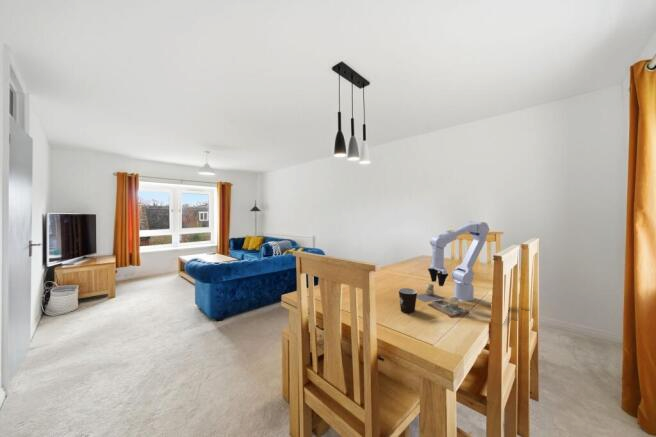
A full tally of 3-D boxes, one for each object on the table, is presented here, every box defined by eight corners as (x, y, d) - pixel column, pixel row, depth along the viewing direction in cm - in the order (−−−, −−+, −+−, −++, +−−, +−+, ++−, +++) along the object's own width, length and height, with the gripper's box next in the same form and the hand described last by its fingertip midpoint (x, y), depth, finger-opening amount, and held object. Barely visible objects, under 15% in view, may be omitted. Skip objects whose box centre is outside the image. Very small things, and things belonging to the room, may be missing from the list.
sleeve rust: (429, 293, 142) (430, 283, 142) (435, 295, 138) (435, 285, 138) (424, 294, 141) (424, 284, 140) (429, 296, 137) (429, 286, 137)
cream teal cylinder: (460, 311, 116) (460, 298, 116) (453, 312, 115) (454, 300, 114) (453, 307, 120) (453, 296, 120) (446, 309, 119) (447, 297, 118)
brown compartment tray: (445, 302, 129) (445, 298, 129) (469, 313, 116) (469, 308, 116) (427, 305, 125) (427, 301, 125) (450, 317, 112) (450, 312, 112)
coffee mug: (418, 315, 114) (418, 294, 113) (399, 314, 115) (399, 293, 115) (414, 305, 125) (414, 286, 125) (397, 304, 127) (397, 285, 126)
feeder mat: (431, 293, 144) (431, 292, 144) (444, 299, 134) (444, 298, 134) (412, 296, 139) (412, 295, 139) (425, 302, 129) (425, 301, 129)
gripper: (424, 256, 138) (424, 279, 138) (437, 261, 123) (437, 288, 124) (436, 256, 138) (435, 279, 139) (451, 261, 124) (450, 287, 125)
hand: (437, 283), depth 132 cm, fingers open, 7 cm apart
